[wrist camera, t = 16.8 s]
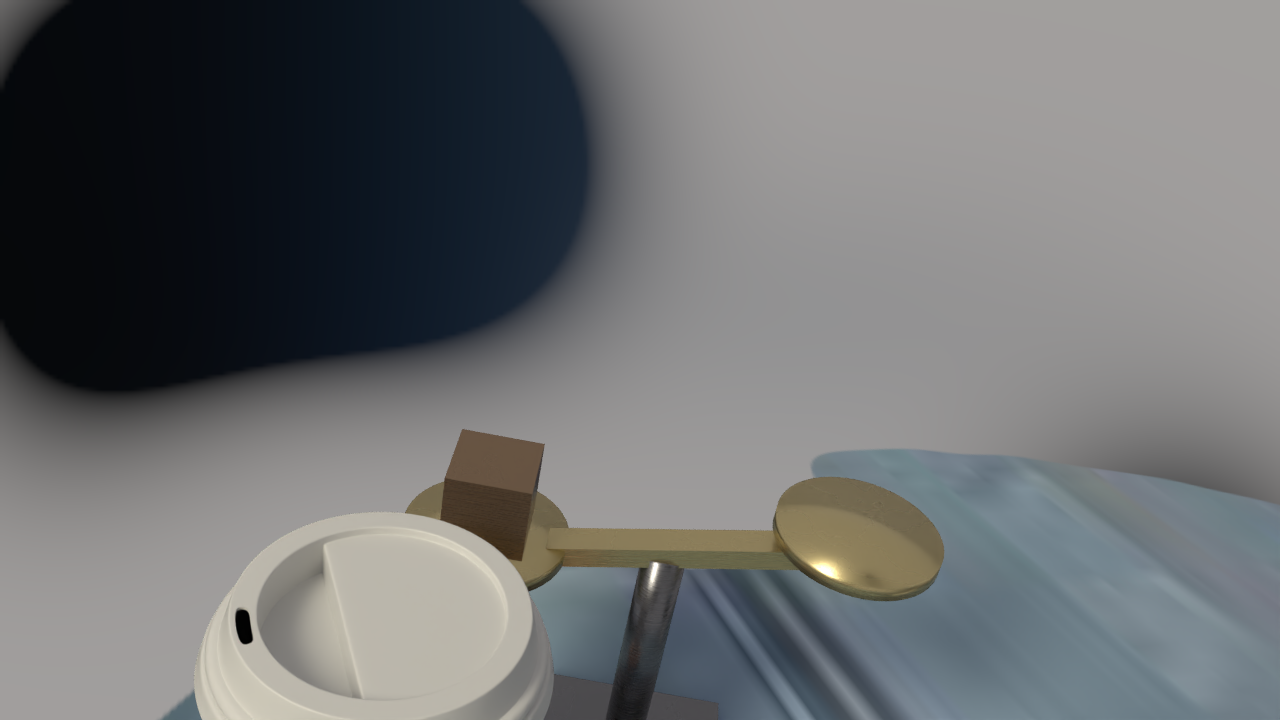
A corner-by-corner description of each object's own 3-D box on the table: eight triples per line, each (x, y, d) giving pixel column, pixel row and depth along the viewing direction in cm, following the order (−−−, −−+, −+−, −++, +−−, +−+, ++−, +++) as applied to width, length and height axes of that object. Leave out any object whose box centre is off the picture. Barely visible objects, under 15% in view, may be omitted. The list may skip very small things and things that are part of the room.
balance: (838, 741, 51) (931, 491, 44) (849, 861, 46) (958, 599, 39) (404, 664, 50) (430, 399, 44) (366, 777, 45) (389, 496, 38)
